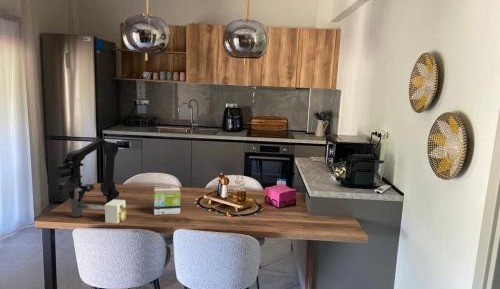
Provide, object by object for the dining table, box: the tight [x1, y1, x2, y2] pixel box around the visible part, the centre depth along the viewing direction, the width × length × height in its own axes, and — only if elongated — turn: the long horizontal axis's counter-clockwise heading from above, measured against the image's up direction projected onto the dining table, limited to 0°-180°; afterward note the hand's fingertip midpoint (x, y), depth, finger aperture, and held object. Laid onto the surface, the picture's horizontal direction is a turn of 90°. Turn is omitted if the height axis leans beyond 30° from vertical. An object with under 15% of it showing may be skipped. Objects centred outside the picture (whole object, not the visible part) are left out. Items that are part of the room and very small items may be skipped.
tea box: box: [153, 185, 181, 216], centre depth 227 cm, size 15×10×15 cm
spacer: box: [118, 207, 128, 222], centre depth 212 cm, size 7×1×7 cm, turn 173°
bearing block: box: [104, 198, 127, 224], centre depth 212 cm, size 10×7×10 cm
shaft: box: [70, 196, 105, 218], centre depth 214 cm, size 4×26×10 cm, turn 83°
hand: (76, 201), depth 215 cm, fingers closed on shaft, 4 cm apart
